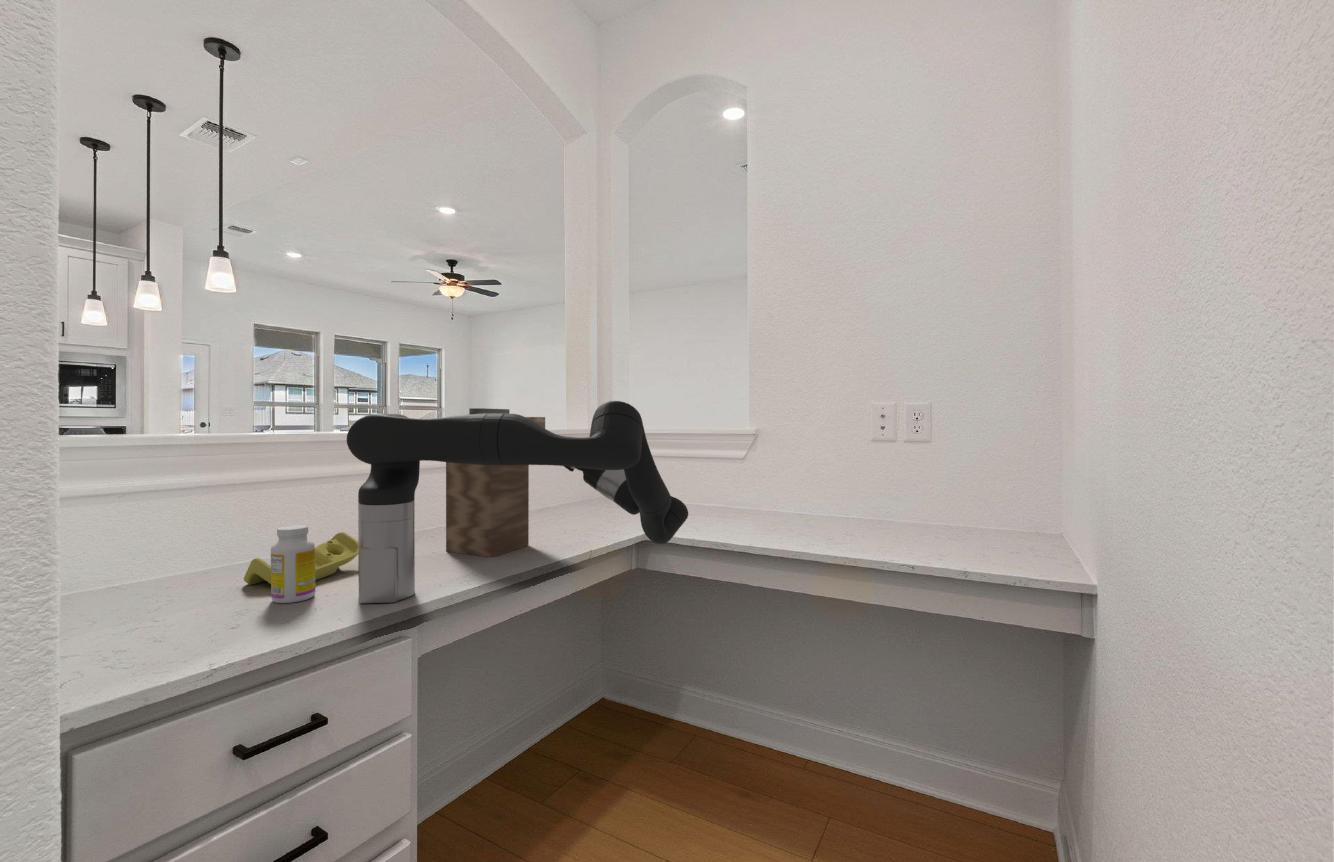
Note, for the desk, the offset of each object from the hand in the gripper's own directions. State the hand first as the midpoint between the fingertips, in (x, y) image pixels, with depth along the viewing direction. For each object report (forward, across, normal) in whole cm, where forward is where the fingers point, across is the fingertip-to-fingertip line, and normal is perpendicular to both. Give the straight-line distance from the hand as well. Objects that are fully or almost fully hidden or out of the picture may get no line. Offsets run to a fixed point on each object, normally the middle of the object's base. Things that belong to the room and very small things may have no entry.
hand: (557, 441), depth 136 cm
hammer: (+13, 0, -4) cm, 13 cm away
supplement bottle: (+7, -47, -36) cm, 59 cm away
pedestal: (+4, -1, -34) cm, 34 cm away
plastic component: (+16, -36, -42) cm, 58 cm away
